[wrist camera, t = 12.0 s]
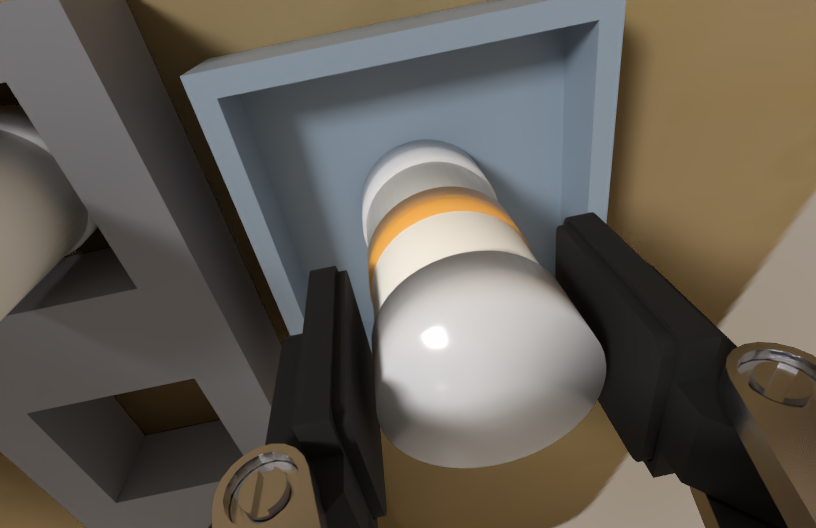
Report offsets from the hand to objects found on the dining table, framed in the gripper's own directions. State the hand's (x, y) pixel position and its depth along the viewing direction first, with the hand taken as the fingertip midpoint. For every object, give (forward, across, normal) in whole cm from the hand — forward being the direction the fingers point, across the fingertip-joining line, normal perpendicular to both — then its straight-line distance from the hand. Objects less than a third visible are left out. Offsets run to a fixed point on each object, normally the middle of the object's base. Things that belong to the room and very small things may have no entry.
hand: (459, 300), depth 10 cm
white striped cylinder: (+5, 0, 0) cm, 5 cm away
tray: (+6, 0, 0) cm, 6 cm away
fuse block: (+6, +11, +6) cm, 14 cm away
